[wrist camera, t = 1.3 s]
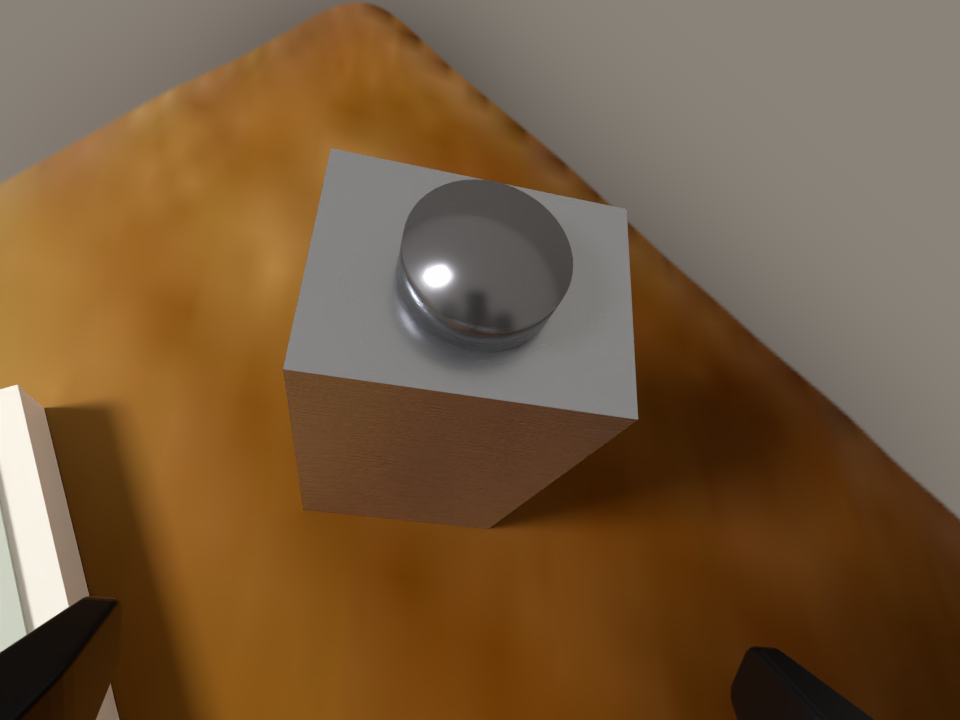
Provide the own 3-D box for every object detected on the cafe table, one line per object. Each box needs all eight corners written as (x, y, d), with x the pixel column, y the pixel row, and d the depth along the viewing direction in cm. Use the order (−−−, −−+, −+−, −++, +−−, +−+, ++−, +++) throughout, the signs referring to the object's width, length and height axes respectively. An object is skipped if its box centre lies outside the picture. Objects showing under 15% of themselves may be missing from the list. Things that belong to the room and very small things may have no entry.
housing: (488, 528, 22) (663, 400, 11) (303, 509, 21) (279, 343, 10) (495, 394, 25) (646, 169, 13) (328, 370, 23) (333, 101, 12)
